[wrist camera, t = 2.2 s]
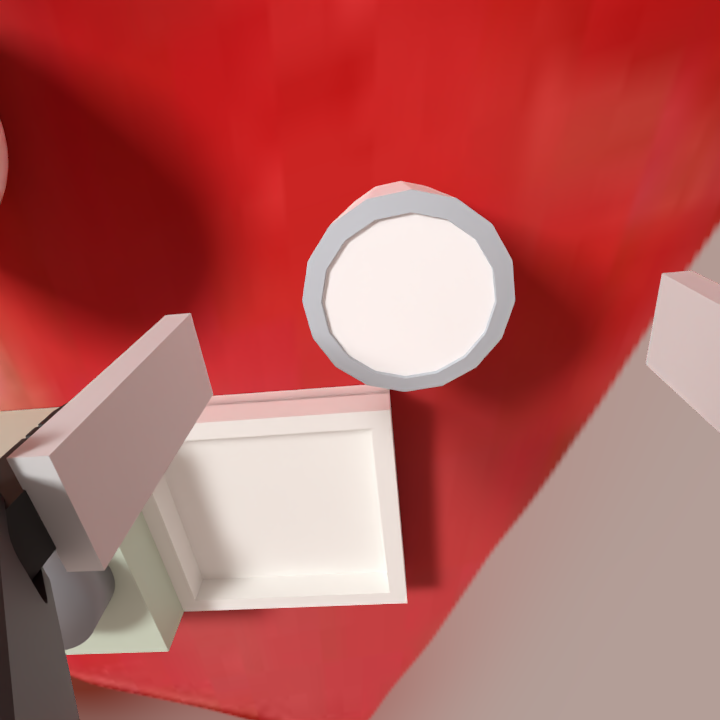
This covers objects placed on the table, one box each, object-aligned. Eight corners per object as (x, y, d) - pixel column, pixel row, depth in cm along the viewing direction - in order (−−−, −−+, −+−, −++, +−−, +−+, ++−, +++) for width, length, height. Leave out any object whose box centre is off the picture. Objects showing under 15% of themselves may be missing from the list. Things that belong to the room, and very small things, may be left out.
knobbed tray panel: (-26, 413, 27) (-148, 505, 20) (388, 383, 25) (392, 474, 19) (70, 582, 33) (-1, 692, 27) (405, 568, 31) (412, 681, 25)
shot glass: (326, 317, 23) (308, 393, 17) (319, 166, 20) (293, 191, 14) (469, 317, 23) (502, 394, 17) (484, 164, 20) (532, 188, 14)
